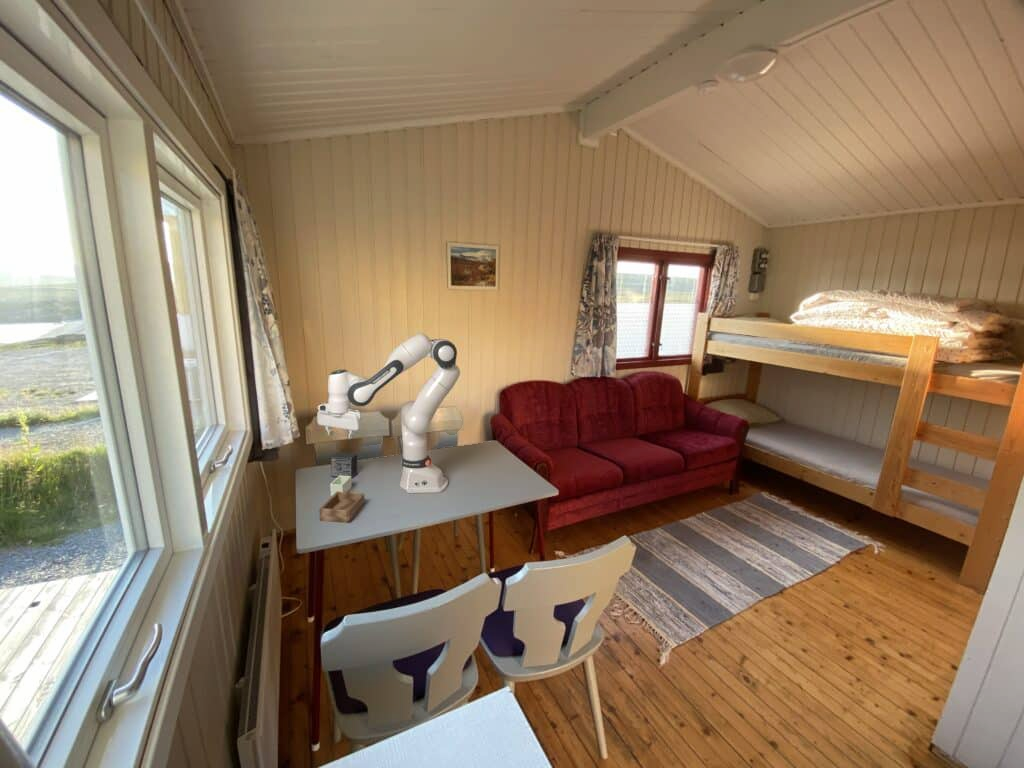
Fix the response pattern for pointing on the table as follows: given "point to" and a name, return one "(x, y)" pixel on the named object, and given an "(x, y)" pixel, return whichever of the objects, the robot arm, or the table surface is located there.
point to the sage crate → (341, 484)
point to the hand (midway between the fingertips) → (340, 436)
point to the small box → (344, 464)
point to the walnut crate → (342, 507)
